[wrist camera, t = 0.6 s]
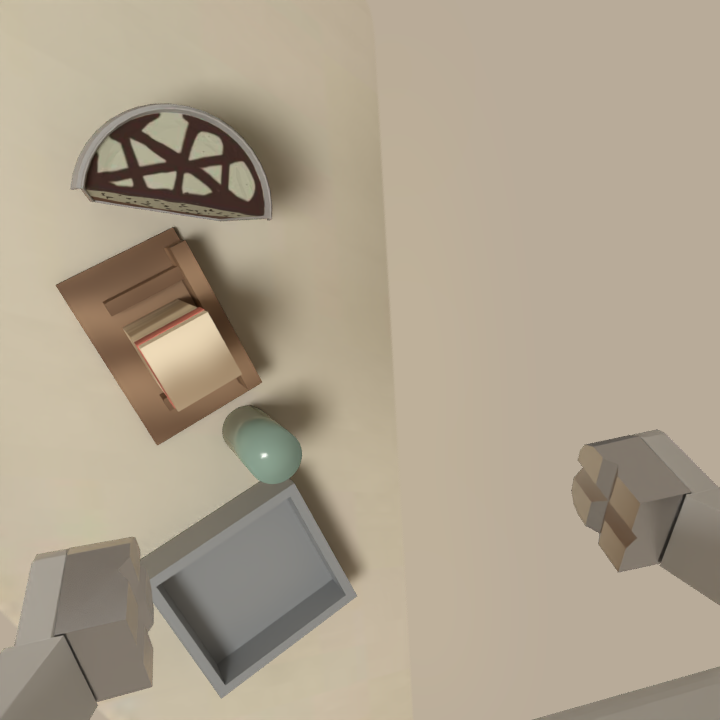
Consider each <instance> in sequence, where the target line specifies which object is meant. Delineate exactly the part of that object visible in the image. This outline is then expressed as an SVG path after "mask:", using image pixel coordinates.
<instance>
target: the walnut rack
mask: <svg viewBox="0 0 720 720" xmlns="http://www.w3.org/2000/svg"><path fill="white" fill-rule="evenodd" d="M56 287H57V288H58V290H59V291H60V293H61V294H62V296H63V298H64V299H65V301H66V302H67V304H68V305H69V307H70V309H71V310H72V312H73V313H74V315H75V317H76V318H77V320H78V321H79V323H80V324H81V326H82V328H83V329H84V331H85V332H86V334H87V335H88V337H89V339H90V340H91V342H92V343H93V345H94V346H95V348H96V350H97V351H98V353H99V354H100V356H101V358H102V359H103V361H104V362H105V364H106V365H107V367H108V369H109V370H110V372H111V373H112V375H113V376H114V378H115V380H116V381H117V383H118V384H119V386H120V387H121V389H122V391H123V392H124V394H125V395H126V397H127V399H128V400H129V402H130V403H131V405H132V406H133V408H134V410H135V411H136V413H137V414H138V416H139V417H140V419H141V421H142V422H143V424H144V425H145V427H146V428H147V430H148V432H149V433H150V435H151V436H152V438H153V439H154V441H155V443H156V444H157V445H159V444H161V443H162V442H164V441H166V440H167V439H169V438H171V437H172V436H174V435H176V434H177V433H179V432H181V431H182V430H184V429H186V428H187V427H189V426H191V425H192V424H194V423H196V422H197V421H199V420H201V419H202V418H204V417H206V416H207V415H209V414H211V413H212V412H214V411H216V410H217V409H219V408H221V407H222V406H224V405H226V404H227V403H229V402H231V401H232V400H234V399H236V398H237V397H239V396H241V395H242V394H244V393H246V392H247V391H249V390H251V389H252V388H254V387H256V386H257V385H259V384H260V383H262V381H261V379H260V377H259V375H258V373H257V372H256V370H255V368H254V366H253V364H252V362H251V360H250V359H249V357H248V355H247V353H246V351H245V349H244V348H243V346H242V344H241V342H240V340H239V338H238V337H237V335H236V333H235V331H234V329H233V327H232V325H231V324H230V322H229V320H228V318H227V316H226V314H225V313H224V311H223V309H222V307H221V305H220V303H219V301H218V300H217V298H216V296H215V294H214V292H213V290H212V289H211V287H210V285H209V283H208V281H207V279H206V277H205V276H204V274H203V272H202V270H201V268H200V266H199V265H198V263H197V261H196V259H195V257H194V255H193V254H192V252H191V250H190V248H189V246H188V244H187V242H186V241H185V240H184V241H180V239H179V237H178V235H177V234H176V232H175V230H174V228H170V229H168V230H166V231H164V232H162V233H160V234H158V235H156V236H154V237H152V238H150V239H148V240H146V241H144V242H142V243H140V244H138V245H136V246H134V247H132V248H130V249H128V250H126V251H124V252H122V253H120V254H118V255H116V256H114V257H112V258H110V259H108V260H106V261H104V262H102V263H99V264H97V265H95V266H93V267H91V268H89V269H87V270H85V271H83V272H81V273H79V274H77V275H75V276H73V277H71V278H69V279H67V280H65V281H63V282H61V283H59V284H57V285H56ZM175 299H179V300H181V301H183V302H186V303H188V304H190V305H193V306H195V307H197V308H198V307H200V308H202V309H204V310H205V311H207V312H208V313H209V315H210V317H211V319H212V321H213V322H214V324H215V326H216V328H217V330H218V331H219V333H220V335H221V337H222V339H223V340H224V342H225V344H226V346H227V348H228V349H229V351H230V353H231V355H232V357H233V359H234V360H235V362H236V364H237V366H238V368H239V369H240V371H241V373H242V375H240V376H238V377H237V378H235V379H233V380H232V381H230V382H228V383H227V384H225V385H223V386H222V387H220V388H218V389H216V390H215V391H213V392H211V393H210V394H208V395H206V396H205V397H203V398H201V399H199V400H198V401H196V402H194V403H193V404H191V405H189V406H188V407H186V408H184V409H183V410H181V411H179V412H178V411H177V409H176V408H174V407H173V405H172V404H171V403H170V401H169V399H168V398H167V396H166V395H165V393H164V392H163V391H162V389H161V388H160V387H159V385H158V384H157V383H156V381H155V380H154V379H153V377H152V376H151V374H150V372H149V371H148V369H147V367H146V366H145V364H144V362H143V361H142V359H141V358H140V356H139V354H138V353H137V351H136V349H135V348H134V346H133V344H132V343H131V341H130V340H129V338H128V336H127V335H126V333H125V331H124V330H123V327H125V326H126V325H128V324H130V323H132V322H134V321H136V320H138V319H140V318H141V317H143V316H145V315H147V314H149V313H151V312H153V311H155V310H157V309H158V308H160V307H162V306H164V305H166V304H168V303H170V302H172V301H173V300H175Z"/></svg>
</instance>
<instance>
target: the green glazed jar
mask: <svg viewBox="0 0 720 720" xmlns="http://www.w3.org/2000/svg"><path fill="white" fill-rule="evenodd" d="M222 434H223V438H224V441H225V443H226V444H227V445H228V447H229V448H230V449H231V450H232V451H233V452H234V453H235V455H236V456H237V457H238V458H239V459H240V460H241V461H242V463H243V464H244V465H245V466H246V467H247V468H248V469H249V471H250V472H251V473H252V474H253V475H254V476H255V477H256V478H257V479H258V480H259V481H261V482H263V483H267V484H278V483H281V482H284V481H286V480H288V479H289V478H290V477H292V476H293V475H294V473H295V472H296V471H297V469H298V468H299V466H300V463H301V459H302V449H301V446H300V443H299V442H298V440H297V439H296V438H295V437H294V436H293V435H292V434H291V433H289V432H288V431H287V430H286V429H284V428H283V427H282V426H281V425H279V424H278V423H277V422H276V421H274V420H273V419H272V418H271V417H269V416H268V415H267V414H265V413H264V412H263V411H262V410H260V409H259V408H256V407H253V406H243V407H239V408H237V409H235V410H234V411H232V412H231V413H230V414H229V415H228V416H227V418H226V420H225V421H224V424H223V429H222Z"/></svg>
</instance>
